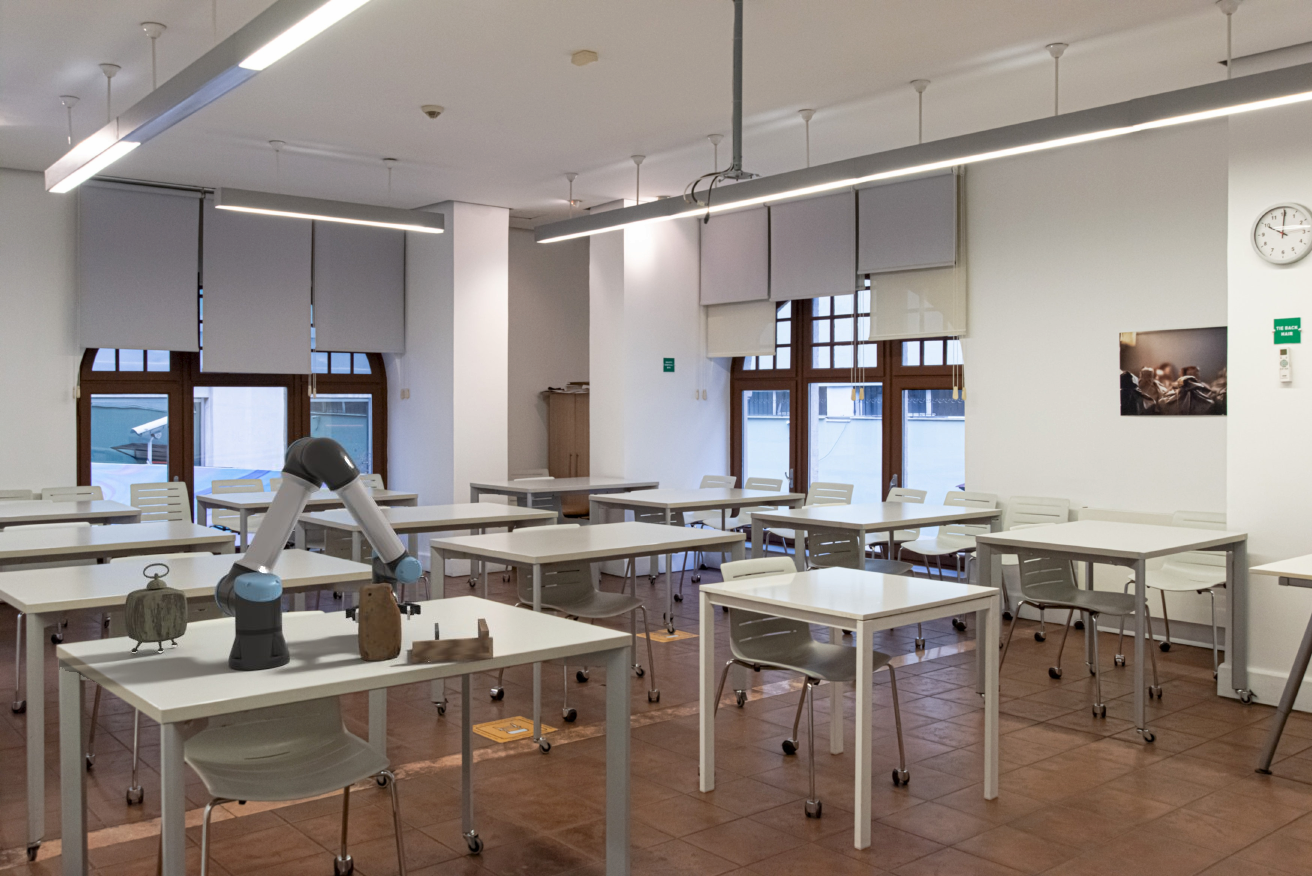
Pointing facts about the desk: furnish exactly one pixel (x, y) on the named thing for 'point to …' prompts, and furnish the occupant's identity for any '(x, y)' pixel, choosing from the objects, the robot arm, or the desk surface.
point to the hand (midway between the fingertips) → (382, 616)
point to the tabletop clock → (156, 612)
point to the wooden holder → (454, 647)
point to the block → (378, 623)
